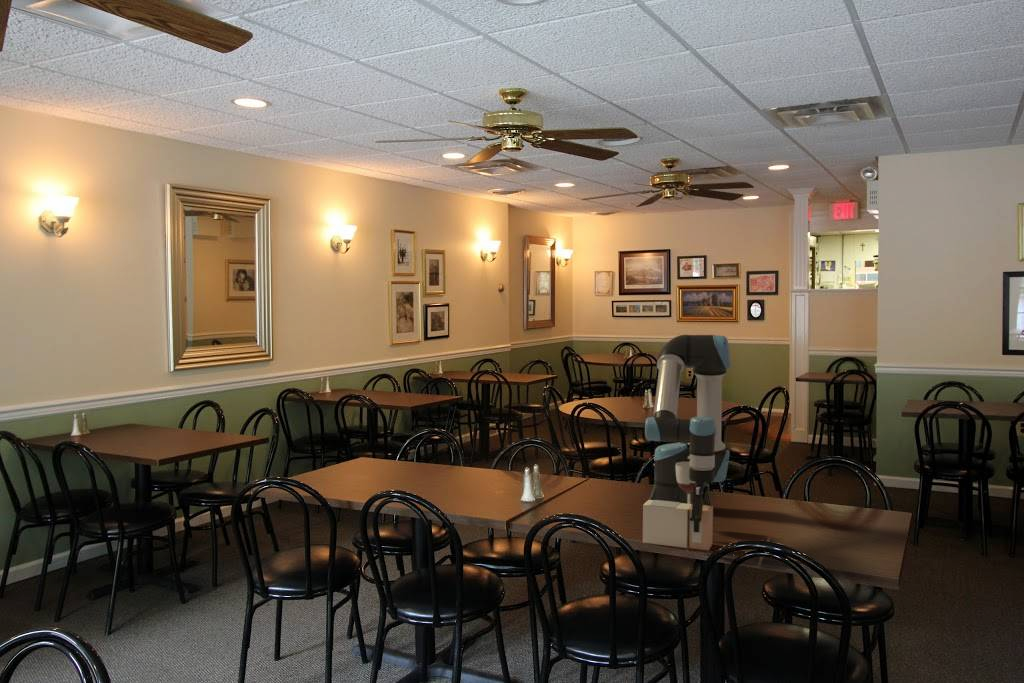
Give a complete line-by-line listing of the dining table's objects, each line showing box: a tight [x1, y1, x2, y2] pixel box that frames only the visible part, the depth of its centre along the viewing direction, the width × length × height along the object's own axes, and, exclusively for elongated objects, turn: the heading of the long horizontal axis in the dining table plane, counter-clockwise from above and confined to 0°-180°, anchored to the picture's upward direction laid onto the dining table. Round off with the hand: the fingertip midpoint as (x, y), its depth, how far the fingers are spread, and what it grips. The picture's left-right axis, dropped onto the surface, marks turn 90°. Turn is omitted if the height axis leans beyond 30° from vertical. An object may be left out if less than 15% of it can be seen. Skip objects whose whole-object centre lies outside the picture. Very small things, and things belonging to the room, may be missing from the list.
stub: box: [689, 505, 714, 551], centre depth 247 cm, size 7×6×12 cm
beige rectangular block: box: [642, 499, 693, 549], centre depth 251 cm, size 7×14×12 cm, turn 67°
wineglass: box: [676, 462, 696, 504], centre depth 267 cm, size 9×10×22 cm
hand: (700, 536), depth 247 cm, fingers open, 13 cm apart
